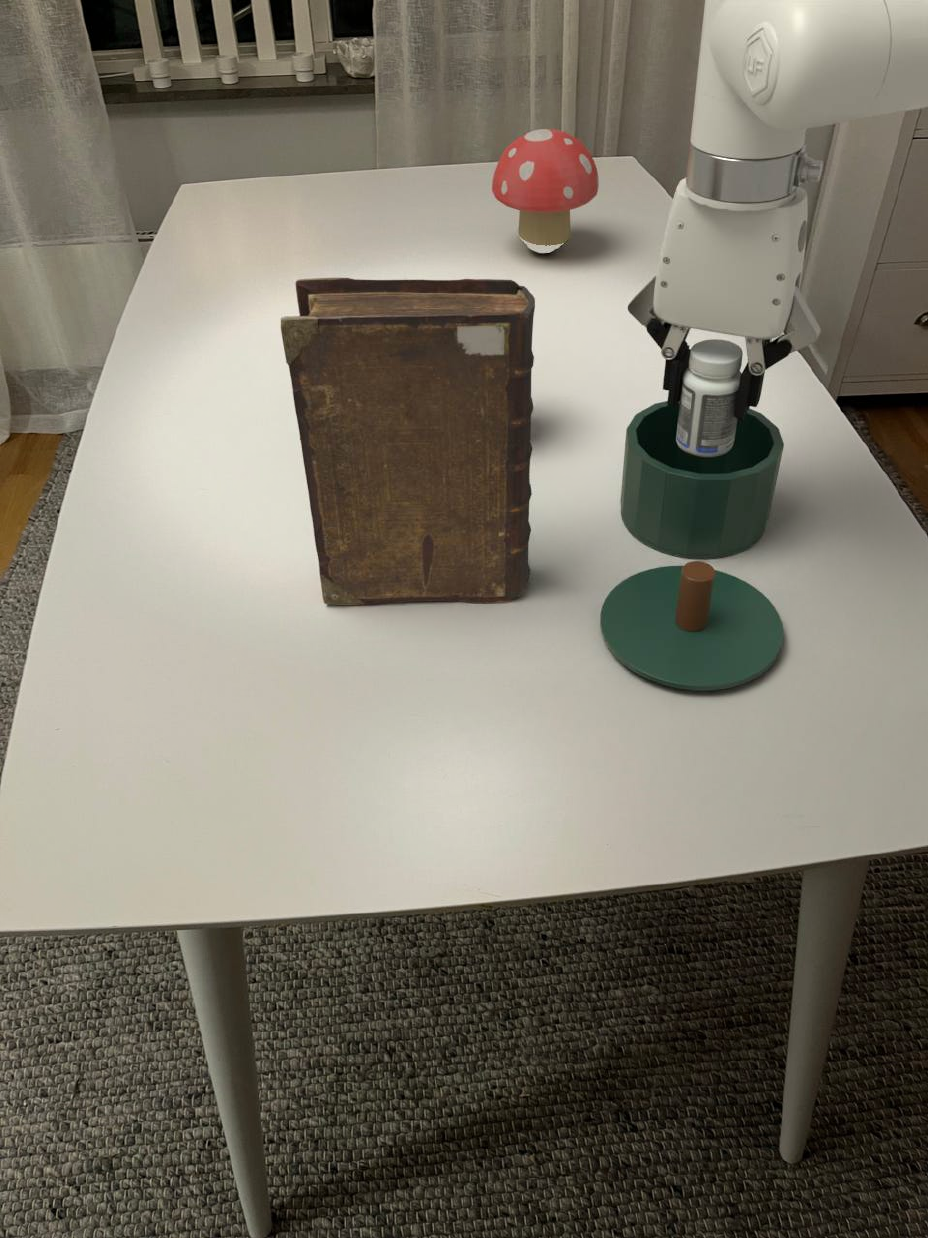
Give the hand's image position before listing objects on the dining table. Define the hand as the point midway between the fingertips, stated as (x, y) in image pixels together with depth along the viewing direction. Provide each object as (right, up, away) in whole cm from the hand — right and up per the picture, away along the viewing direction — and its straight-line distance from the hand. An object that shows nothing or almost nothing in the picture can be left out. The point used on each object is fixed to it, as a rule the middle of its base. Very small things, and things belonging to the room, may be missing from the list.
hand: (709, 402), depth 82 cm
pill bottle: (0, -3, +3) cm, 4 cm away
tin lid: (-2, -18, -4) cm, 19 cm away
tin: (0, -8, +7) cm, 11 cm away
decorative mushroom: (-9, +30, +52) cm, 61 cm away
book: (-23, -15, +1) cm, 27 cm away
